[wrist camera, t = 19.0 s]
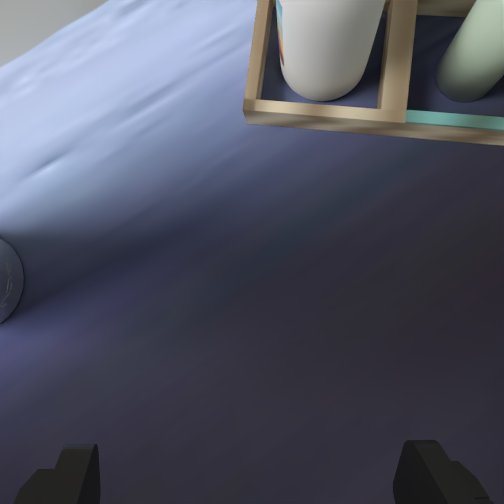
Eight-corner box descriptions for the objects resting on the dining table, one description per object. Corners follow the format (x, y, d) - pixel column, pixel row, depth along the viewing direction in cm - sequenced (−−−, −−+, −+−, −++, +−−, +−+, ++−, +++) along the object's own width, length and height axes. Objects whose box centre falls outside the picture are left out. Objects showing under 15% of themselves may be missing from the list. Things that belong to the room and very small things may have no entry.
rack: (246, 123, 40) (242, 108, 36) (264, -4, 41) (261, -30, 37) (534, 148, 37) (557, 134, 34) (545, 10, 38) (568, -16, 35)
